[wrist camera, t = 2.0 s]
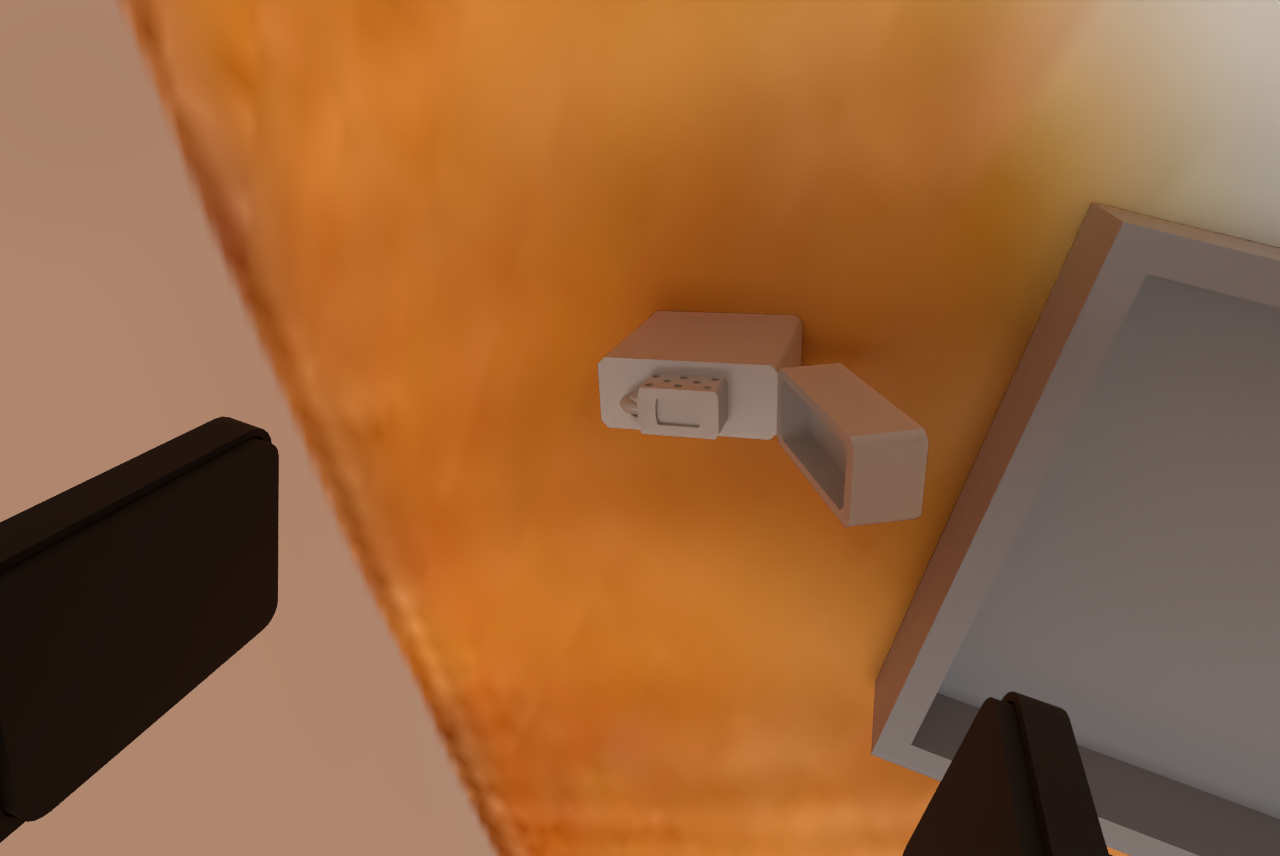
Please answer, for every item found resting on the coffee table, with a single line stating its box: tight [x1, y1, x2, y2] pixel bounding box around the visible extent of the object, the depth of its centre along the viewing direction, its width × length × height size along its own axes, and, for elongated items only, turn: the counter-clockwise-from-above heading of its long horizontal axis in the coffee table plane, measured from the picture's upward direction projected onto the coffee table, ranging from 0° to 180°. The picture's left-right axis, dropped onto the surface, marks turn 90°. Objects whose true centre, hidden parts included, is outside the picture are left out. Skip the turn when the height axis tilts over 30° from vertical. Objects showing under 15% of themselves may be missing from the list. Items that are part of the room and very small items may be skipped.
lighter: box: [598, 311, 929, 527], centre depth 18 cm, size 7×2×8 cm, turn 93°
